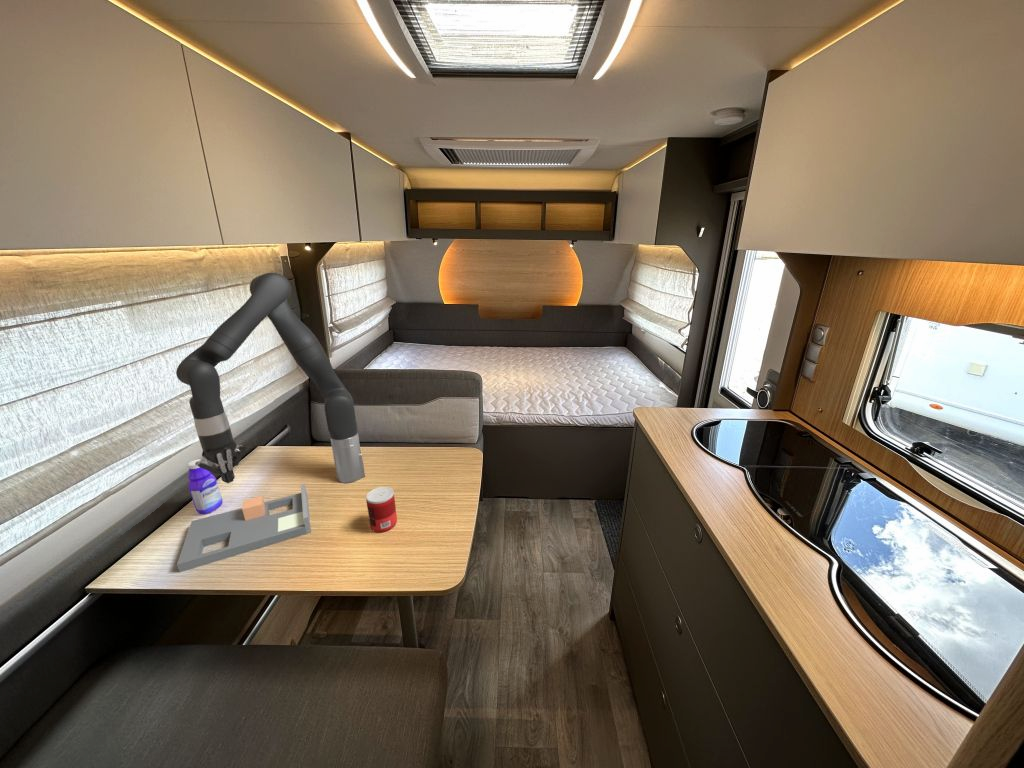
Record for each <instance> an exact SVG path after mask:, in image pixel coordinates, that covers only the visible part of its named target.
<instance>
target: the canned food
mask: <svg viewBox="0 0 1024 768" xmlns="http://www.w3.org/2000/svg"><path fill="white" fill-rule="evenodd" d="M394 492H395V491H394V489H393V488H391V487H389V486H380V487H379V486H378V487H376V488H374V489H373V488H372V490H370V491H369V492H368V493H366V496H365V500H366V506H367V507H366V508H367V513H368V519H369V526H370V529H371V530H372V531H373V532H375V533H379V534H380V533H386V532H388V531H390V530H392V529H394V527H396V525H397V523H398V516H397V510H396V509H397V508H396V499H395V493H394Z"/></svg>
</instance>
